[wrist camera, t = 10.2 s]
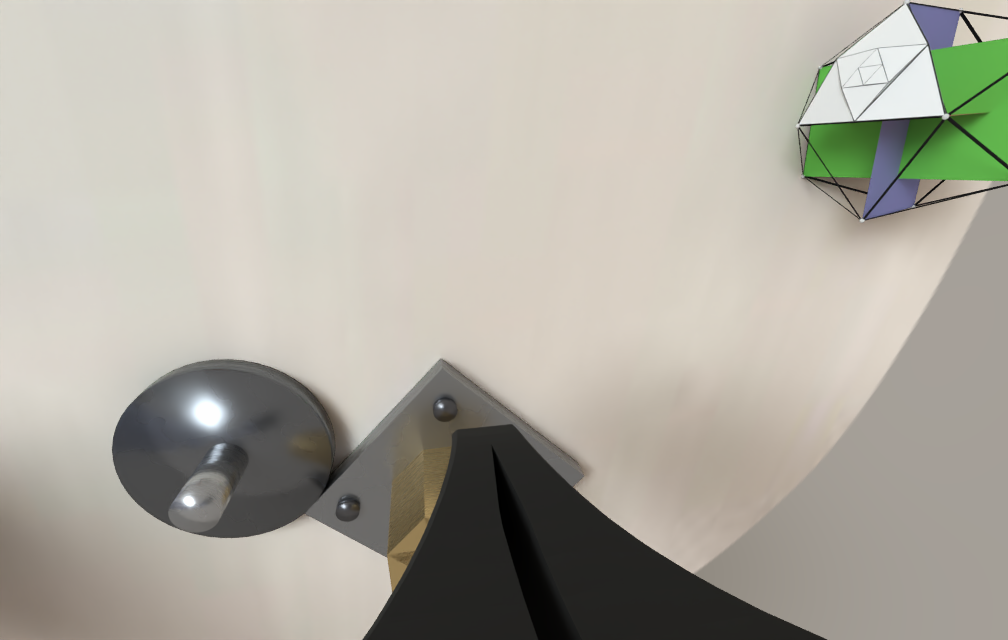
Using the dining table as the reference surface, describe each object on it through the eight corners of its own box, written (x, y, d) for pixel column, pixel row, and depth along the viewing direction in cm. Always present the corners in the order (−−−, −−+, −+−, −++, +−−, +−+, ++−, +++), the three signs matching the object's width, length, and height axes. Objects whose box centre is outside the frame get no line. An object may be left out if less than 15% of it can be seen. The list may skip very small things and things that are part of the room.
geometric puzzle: (1031, 7, 17) (1200, -65, 10) (975, 200, 19) (1084, 240, 13) (800, 39, 20) (817, -2, 14) (777, 201, 23) (783, 233, 16)
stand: (262, 547, 22) (230, 629, 18) (85, 461, 19) (5, 538, 15) (373, 430, 21) (363, 491, 17) (203, 320, 18) (147, 366, 14)
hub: (456, 578, 25) (463, 654, 21) (309, 497, 21) (287, 571, 18) (577, 462, 23) (608, 522, 20) (440, 358, 20) (446, 406, 16)
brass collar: (454, 551, 23) (462, 631, 19) (370, 503, 21) (361, 580, 17) (526, 482, 22) (548, 550, 18) (445, 426, 20) (452, 489, 16)
